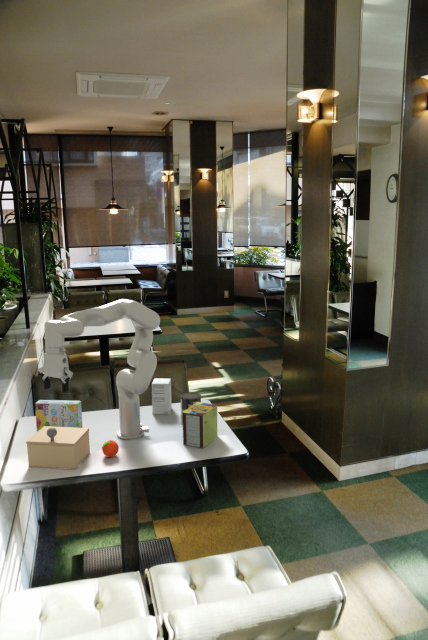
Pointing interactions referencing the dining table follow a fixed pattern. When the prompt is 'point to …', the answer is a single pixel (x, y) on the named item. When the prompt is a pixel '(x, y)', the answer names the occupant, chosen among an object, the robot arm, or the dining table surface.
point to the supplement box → (161, 396)
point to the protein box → (199, 424)
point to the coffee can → (188, 401)
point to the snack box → (58, 413)
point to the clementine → (110, 448)
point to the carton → (58, 454)
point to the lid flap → (58, 436)
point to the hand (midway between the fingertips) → (56, 390)
